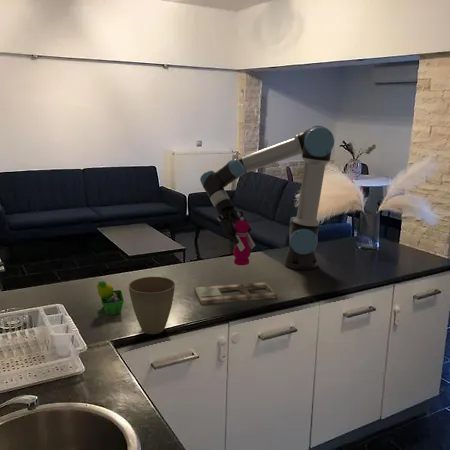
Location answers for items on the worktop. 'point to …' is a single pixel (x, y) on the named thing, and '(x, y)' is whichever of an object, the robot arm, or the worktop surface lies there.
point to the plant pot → (152, 302)
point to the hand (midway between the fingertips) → (247, 248)
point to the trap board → (215, 296)
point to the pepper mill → (242, 229)
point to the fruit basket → (110, 298)
